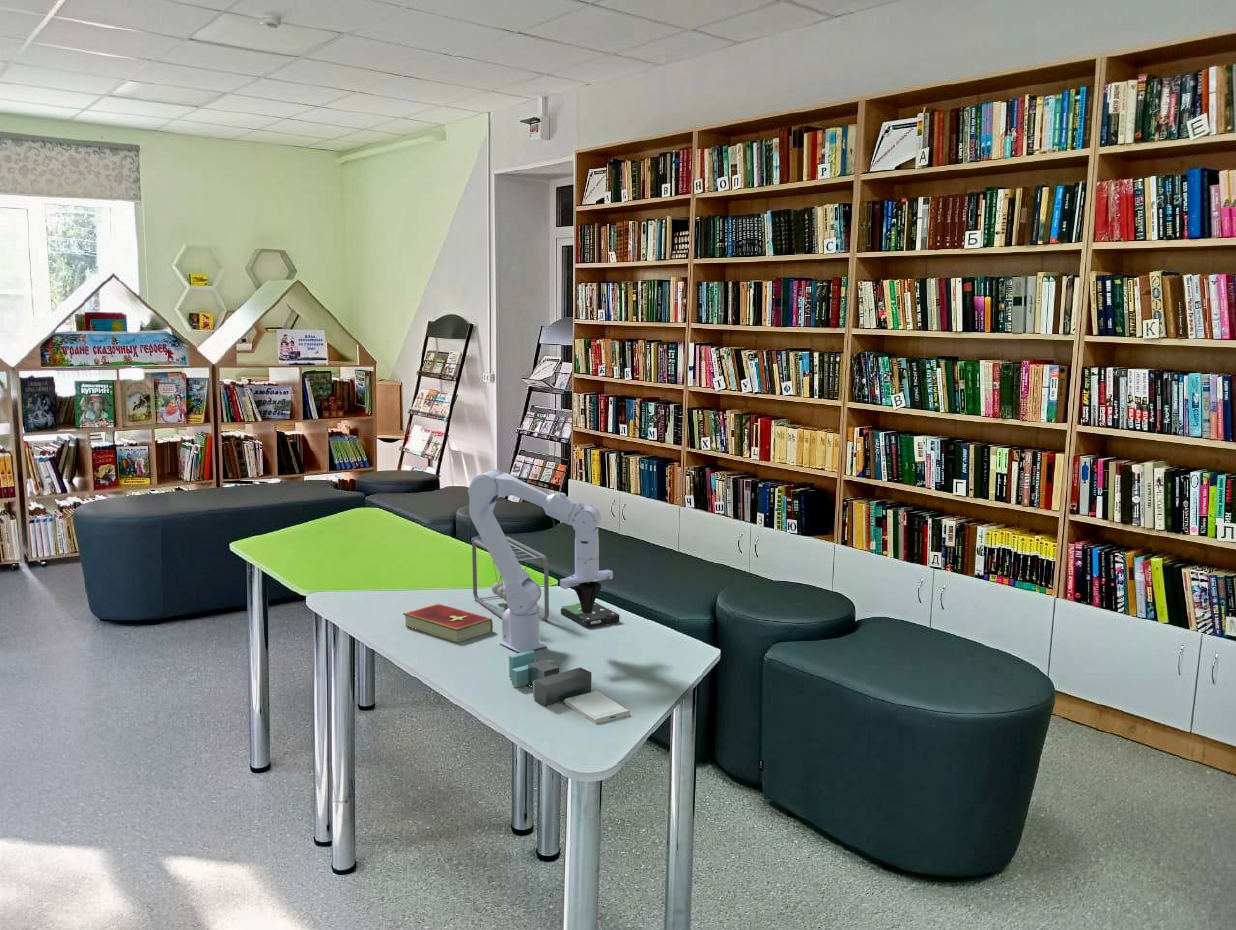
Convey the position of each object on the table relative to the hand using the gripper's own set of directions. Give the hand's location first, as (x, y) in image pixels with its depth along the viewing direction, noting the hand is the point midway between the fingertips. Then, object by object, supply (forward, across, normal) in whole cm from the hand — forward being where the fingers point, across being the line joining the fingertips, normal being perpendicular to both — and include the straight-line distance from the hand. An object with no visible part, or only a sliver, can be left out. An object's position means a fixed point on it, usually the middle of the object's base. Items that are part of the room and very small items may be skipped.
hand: (587, 612), depth 233 cm
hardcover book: (+10, -18, +36) cm, 41 cm away
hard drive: (+10, -21, -30) cm, 38 cm away
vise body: (+9, -22, -18) cm, 30 cm away
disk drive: (+10, +16, +20) cm, 28 cm away
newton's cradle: (+10, +4, +40) cm, 41 cm away
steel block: (+10, -22, -13) cm, 27 cm away
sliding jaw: (+9, -22, -7) cm, 25 cm away
